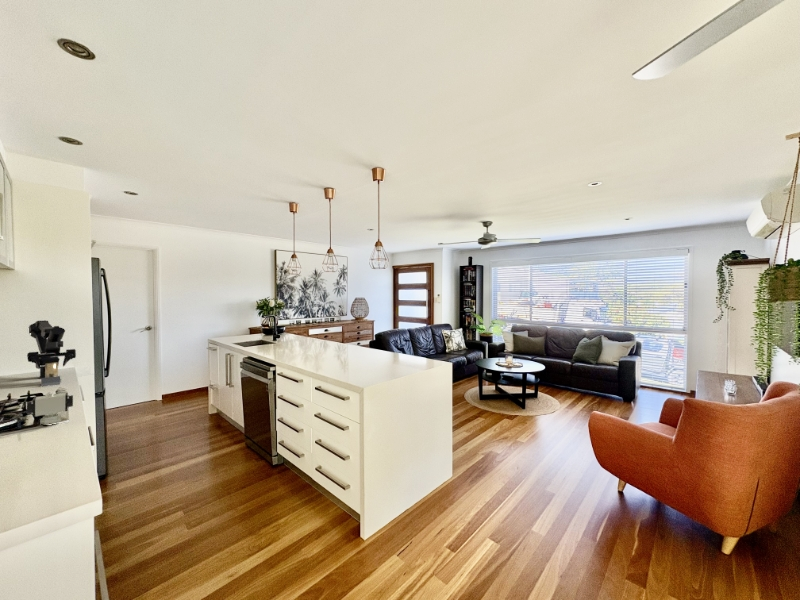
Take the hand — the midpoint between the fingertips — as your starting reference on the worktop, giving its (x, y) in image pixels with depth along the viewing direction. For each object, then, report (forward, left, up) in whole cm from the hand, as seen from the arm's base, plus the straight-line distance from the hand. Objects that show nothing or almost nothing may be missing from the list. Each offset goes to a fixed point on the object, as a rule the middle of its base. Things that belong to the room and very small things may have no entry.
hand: (51, 367), depth 179 cm
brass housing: (-2, 0, -8) cm, 8 cm away
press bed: (0, 0, -10) cm, 10 cm away
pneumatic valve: (+85, +5, -10) cm, 86 cm away
